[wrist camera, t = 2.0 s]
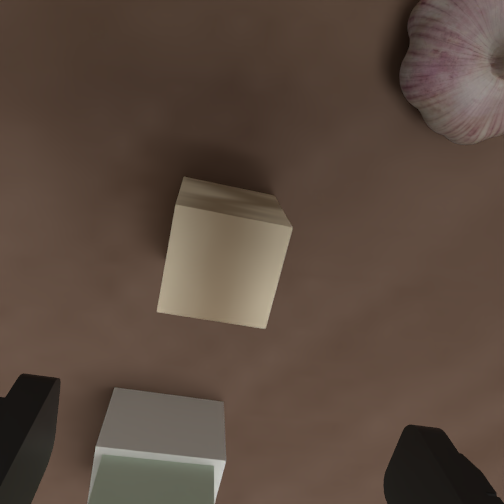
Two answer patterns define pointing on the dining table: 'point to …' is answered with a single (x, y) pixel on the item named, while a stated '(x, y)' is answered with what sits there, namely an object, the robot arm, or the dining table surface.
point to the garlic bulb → (457, 67)
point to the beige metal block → (224, 254)
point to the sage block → (151, 482)
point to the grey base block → (163, 430)
